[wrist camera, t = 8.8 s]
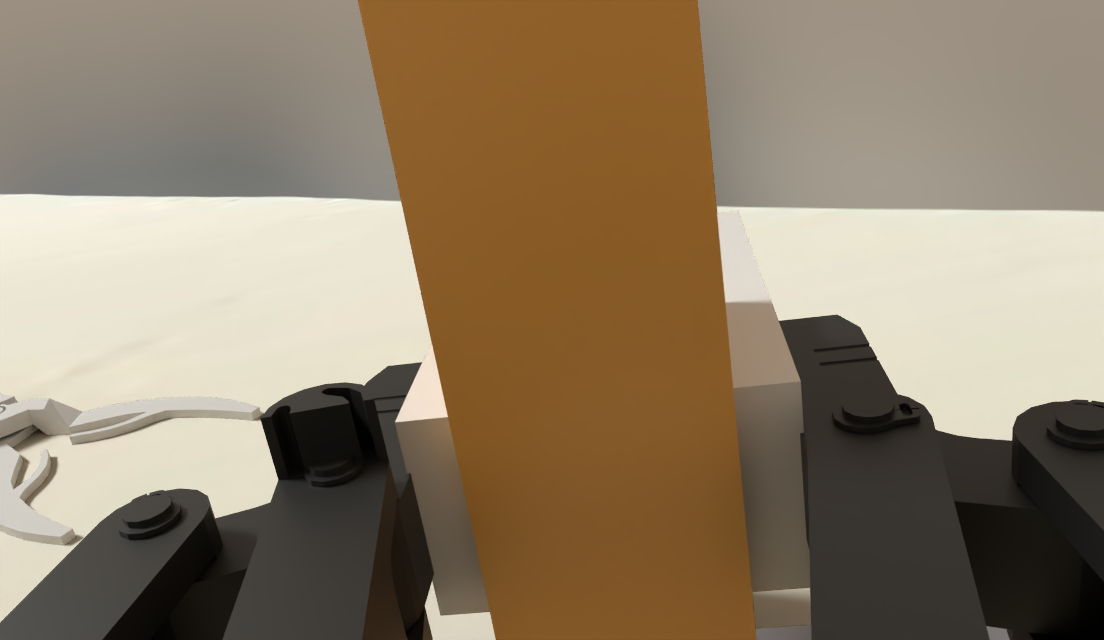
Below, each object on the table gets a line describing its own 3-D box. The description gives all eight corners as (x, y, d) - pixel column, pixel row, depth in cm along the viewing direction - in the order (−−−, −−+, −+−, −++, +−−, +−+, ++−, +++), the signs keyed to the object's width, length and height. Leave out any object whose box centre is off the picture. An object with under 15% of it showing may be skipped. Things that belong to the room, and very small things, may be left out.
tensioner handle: (422, 1209, 13) (-5, -30, 7) (492, 769, 19) (300, -57, 13) (1547, 1213, 11) (2178, -405, 5) (1207, 731, 17) (1328, -230, 12)
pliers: (45, 519, 32) (-176, 459, 40) (61, 558, 33) (-160, 492, 41) (257, 385, 40) (39, 357, 48) (268, 419, 41) (50, 385, 48)
